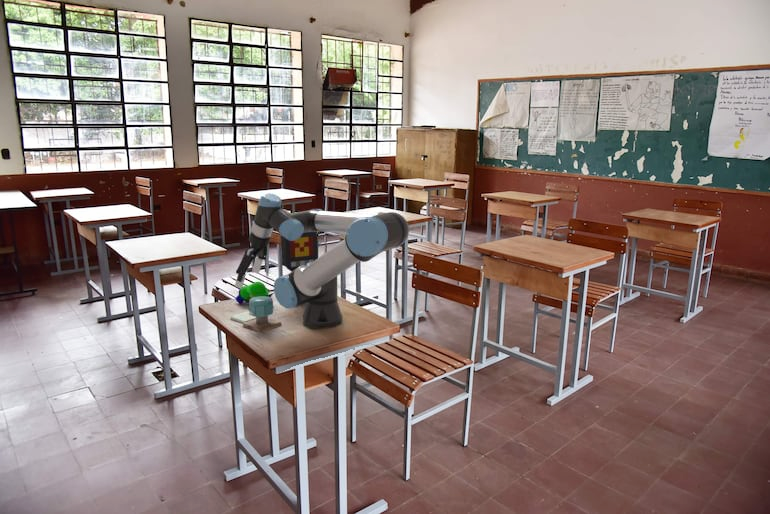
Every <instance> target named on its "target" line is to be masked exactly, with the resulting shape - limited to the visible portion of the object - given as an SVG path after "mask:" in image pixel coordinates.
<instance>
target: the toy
mask: <svg viewBox="0 0 770 514" xmlns="http://www.w3.org/2000/svg"><path fill="white" fill-rule="evenodd" d="M238 289H239V290H238V295H236V297H235V301H236V303H239V304H242V302H243V303H244V302H245V303H247V302H248V303H249V300H250V299H251V298H254V297H259V296H267V297H271V298H272V296H273V295H275V293H274V292H273V293H269V292H270V291H269V289H268V288H267V287H266V285H265V284H264V283H263V282H262V281H255V282H252V283H251V284H249V285H243V286H242V289H240V288H238Z"/></svg>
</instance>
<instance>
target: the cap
mask: <svg viewBox="0 0 770 514" xmlns="http://www.w3.org/2000/svg"><path fill="white" fill-rule="evenodd" d="M248 307H249V308H248V311H249V315H250V316H254V317H265V316H268V317H269V316H272V315H273V313H274V301H273V297H272V296H271V297H267V296H259V297H254V298H251V299H250V300H249V302H248Z"/></svg>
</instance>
